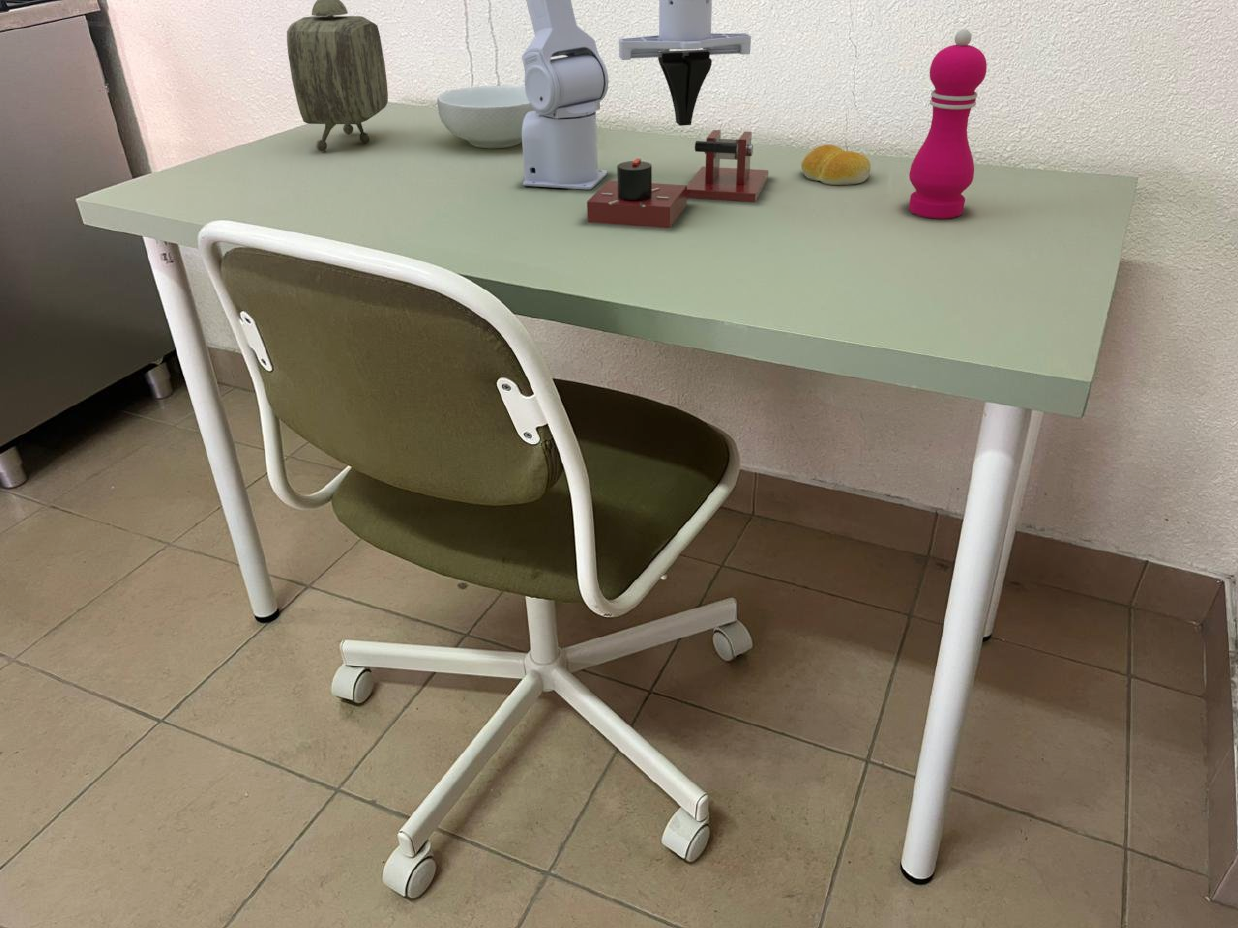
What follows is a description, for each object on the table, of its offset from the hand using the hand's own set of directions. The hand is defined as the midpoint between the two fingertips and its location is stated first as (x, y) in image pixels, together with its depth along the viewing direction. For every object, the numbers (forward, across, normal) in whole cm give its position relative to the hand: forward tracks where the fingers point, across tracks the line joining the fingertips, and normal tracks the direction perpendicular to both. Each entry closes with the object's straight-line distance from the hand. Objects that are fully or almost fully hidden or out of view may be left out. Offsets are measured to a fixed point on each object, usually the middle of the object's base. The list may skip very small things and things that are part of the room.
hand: (683, 123), depth 110 cm
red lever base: (+10, +8, +9) cm, 16 cm away
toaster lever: (+5, +6, +5) cm, 9 cm away
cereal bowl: (+11, -21, +40) cm, 47 cm away
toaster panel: (+10, -5, 0) cm, 12 cm away
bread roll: (+11, +23, +11) cm, 27 cm away
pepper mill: (+11, +30, -6) cm, 32 cm away
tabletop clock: (+11, -43, +45) cm, 63 cm away
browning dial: (+8, -6, -1) cm, 10 cm away
